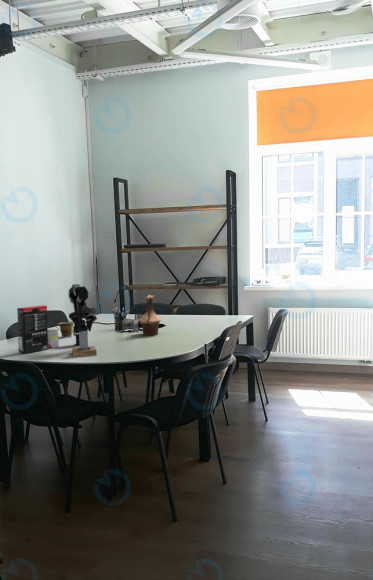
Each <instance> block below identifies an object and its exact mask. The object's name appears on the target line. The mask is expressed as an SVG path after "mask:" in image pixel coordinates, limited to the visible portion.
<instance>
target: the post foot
mask: <svg viewBox="0 0 373 580" xmlns="http://www.w3.org/2000/svg"><path fill="white" fill-rule="evenodd" d="M71 353H72V357H73V358H77V357H78V356H80V357H89V356H90V357H92V355H93V356H97V355H98V354H97V349H96V347H95V345H91V346H90V345H88V350H80V346H77V347H72V348H71Z"/></svg>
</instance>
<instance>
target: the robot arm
mask: <svg viewBox="0 0 373 580" xmlns="http://www.w3.org/2000/svg"><path fill="white" fill-rule="evenodd" d="M67 294H68V298H69V301H70V303H71V304H72V306H73V312H70V313H69V314H68V319H70V320H71V322H74V325H73V333H72V336H74V337H75V343H74V346H80V340H79V331H87V333H88V332H91V331H92V327H93V323H94V322H96V321H97V320H98V318H97V315H95V314H96V313H97V308H96V307H91V308H90V307H89V306H87V302H88V299H89V291H88V289H87V288H86V286H84V285H83V286H81V285H80V283H79V284H77V283H76V284H72V285H71V287H70V288H69V289H68V293H67ZM88 334H89V333H88Z"/></svg>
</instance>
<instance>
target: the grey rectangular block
mask: <svg viewBox="0 0 373 580" xmlns="http://www.w3.org/2000/svg"><path fill="white" fill-rule="evenodd" d="M88 334H89V333H87V331H79V340H80V345H79V347H80V350H88V346H89V338H88V337H89V335H88Z"/></svg>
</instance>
